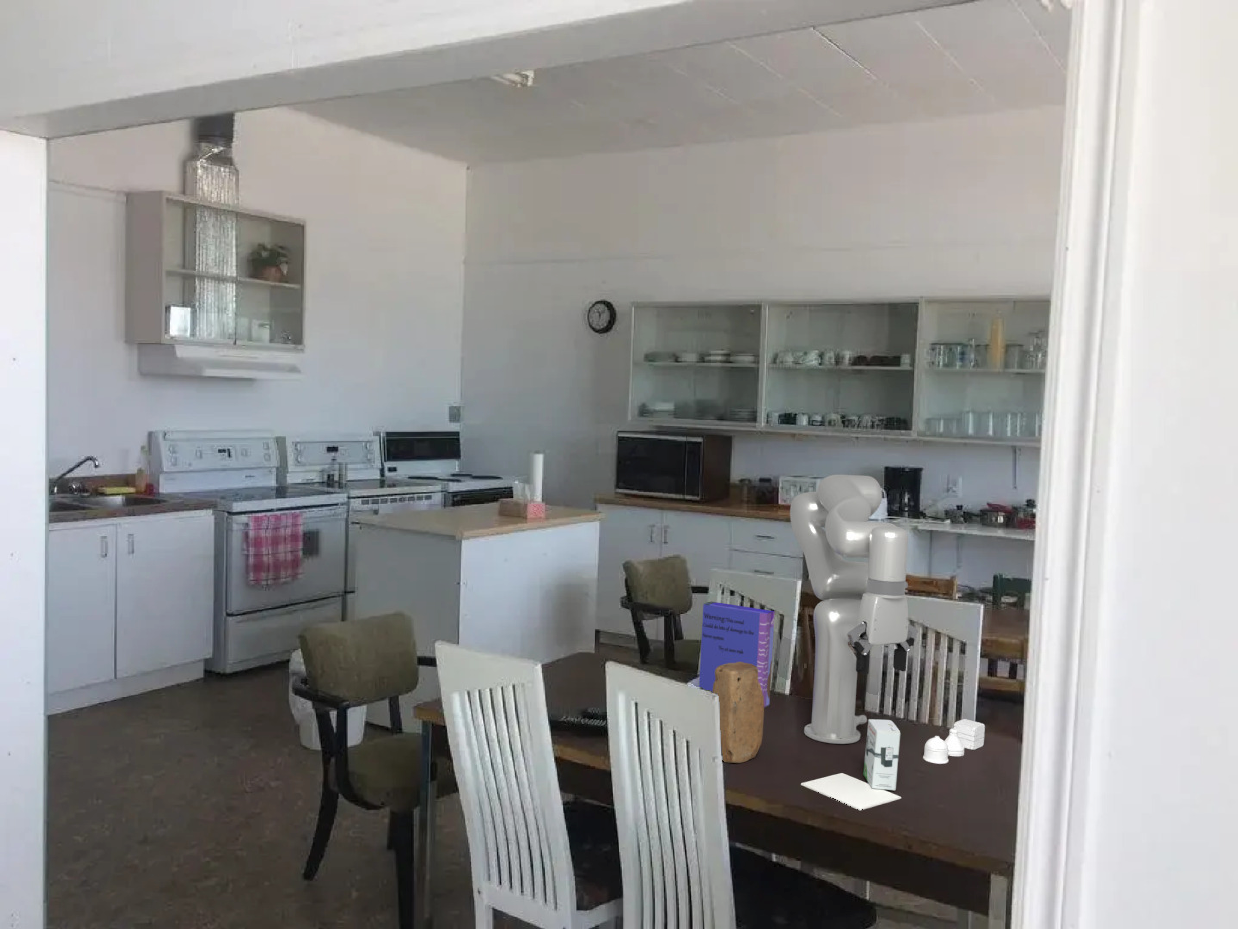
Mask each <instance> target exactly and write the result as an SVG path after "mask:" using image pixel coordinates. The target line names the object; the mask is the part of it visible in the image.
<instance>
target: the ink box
mask: <svg viewBox="0 0 1238 929" xmlns="http://www.w3.org/2000/svg"><path fill="white" fill-rule="evenodd" d="M867 722H868V723H867V734H866V743H865V754H864V764H863V774H862V775H863V776H864V778H865V780H866V781H867V783H868V784H870V786H871V788H874V789H883V790H885V791H896V789H897V780H898V766H899V764H898V763H899V754H900V753H899V752H900V741H901V730H899V728H898V727H897V725H896V724H895V723H894V722H893V721H892V720H890V719H872V718H871V719H870V718H869V719H867Z"/></svg>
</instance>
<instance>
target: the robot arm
mask: <svg viewBox="0 0 1238 929" xmlns="http://www.w3.org/2000/svg"><path fill="white" fill-rule="evenodd" d="M882 498H883V492H882V488H881V485H880V483H879V482H878V481H877V479H875V478H874V477H873V476H870V475H859V474H858V475H856V474H832V475H831V474H830V475H828V476H826V477H824V478H822V480H820V482H819V483H818V485H817V490H816V491H808V492H803V493H799V494H797V495H796V496H794V498H793V499H792V500H791V504H790V509H789V512H790V513H789V516H790V518H789V519H790V524H791V528H792V531H793V535H794V536H795V538H796V541H797V542H798V545H799V547H800V549H801V550H802V552H803V555H804V558H805V562H806V567H807V571H808V576H809V579H810V584H811V587H812V591H813V594H814V595H815V596H816V598H818V599H819V600H821V601H820V602H819V603H817V605H816V606H814V607H815V608H814V610H813V626H814V636H815V658H814V680H813V691H812V710H811V711H812V712H811V723H809V724H807V725H805V726H804V730H803V733H804V734H805V736H807V737H808V738H810V739H812V740H814V741H818V742H821V743H827V744H835V745H836V744H837V745H846V744H854V743H857V742H858V741H859V740H860V739H861V732H860V731H859V730H858V729H857V727H858V726H859V725H864V724H865V723H867V722H868V719H867V715H865V714H861V715H855V713H856V698H857V696H856V695H857V680H858V673H859V674H861V675H864V676H867V675H869V672H870V670H869V669H870V655H869V651H870V650H871V649H872V647H873V646H886V645H895V648H894V650H893V661H892V668H894V670H898V671H900V672H906V671H907V661H908V660H907V657H908V653H909V652H910V651H911V646H912V645H913V644H914V642H915V639H916V636H917V634H918V632H919V630H918V628H916V627H915V626H913V625H912V624H910V623H909V608H908V607H909V605H908V600H907V595H906V589H908V587H909V584H908V582H907V581H906V578H907V564H908V563H907V562H908V549H909V548H908V546H909V534H908V532H907V530H905V529H904V528H901V527H898V526H897V525H895V524H894V523H891V522H884V521H883V522H878V521H875V522H874V521H869V519H870V517H873V515H874V514H875V513H876V512H877V510H878V509H879V508H880V506H881V503H882ZM822 527H823V528H824V529H823V528H822ZM843 557H844V558H861V559H862V558H863V559H864V558H867V559H868V562H865V561H854V560H853V561H851V560H846V559H844V558H843ZM849 643H850V645H849ZM850 646H851V647H852V648H851V647H850ZM852 649H853V650H852ZM855 653H856V654H855Z"/></svg>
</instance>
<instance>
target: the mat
mask: <svg viewBox="0 0 1238 929" xmlns="http://www.w3.org/2000/svg"><path fill="white" fill-rule="evenodd" d="M800 786H803V787H805V788H807V789H809V790H811V791H815V792H817V793H818V792H819V794H821V795H823V796H826V797H828V798H830V797H831V798H830V799H832V798H834V799H836V800H835V801H837V800H838V801H837V802H839V801H840V802H839V803H842V804H844V803H845V804H844V805H846V804H847V805H846V806H848V807H850V806H851V808H853V809H856V810H857V809H858V811H863V810H866V809H867V810H868V809H871V808H873V807H877V806H880V805H883V804H888V803H891V802H893V801H894V802H895V801H897V800H900V799H902V797H901V796H899V795H898V794H894V793H893V792H890V791H889V790H885V789H874V788H871V786H870V784H869V783H868V782H865V781H862V780H860V779H858V778H856V777H853V776H852V775H851V776H850V775H848V774H845V773H843V772H841V773H837V774H832V775H828V776H825V777H821V778H816V779H814V780H813V779H812V780H809V781H804V782H801V783H800ZM834 799H833V800H834ZM862 809H863V810H862Z"/></svg>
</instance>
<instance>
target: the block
mask: <svg viewBox="0 0 1238 929" xmlns="http://www.w3.org/2000/svg"><path fill="white" fill-rule="evenodd" d="M712 693H717V694H718V696H719V702H720V730H721V746H722V754H723V761H724V763H730V764H731V763H732V764H733V763H735V764H741V763H745V762H748V761H749V760H752V759H753V758H756V756H757V754H758V753H759V752H758V751H759V749H760V747H761V746H762V742H763V735H764V734H763V733H764V718H765V717H764V716H765V708H764V697H763V694H762V690H761V686H760V683H759V682H758V668H757V667H756V666H754V665H753V664H749V663H744V662H736V663H727V664H723V665H720V666H718V667H717V668H716V670H715V681H714V684H713V691H712ZM723 761H722V762H723Z"/></svg>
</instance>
